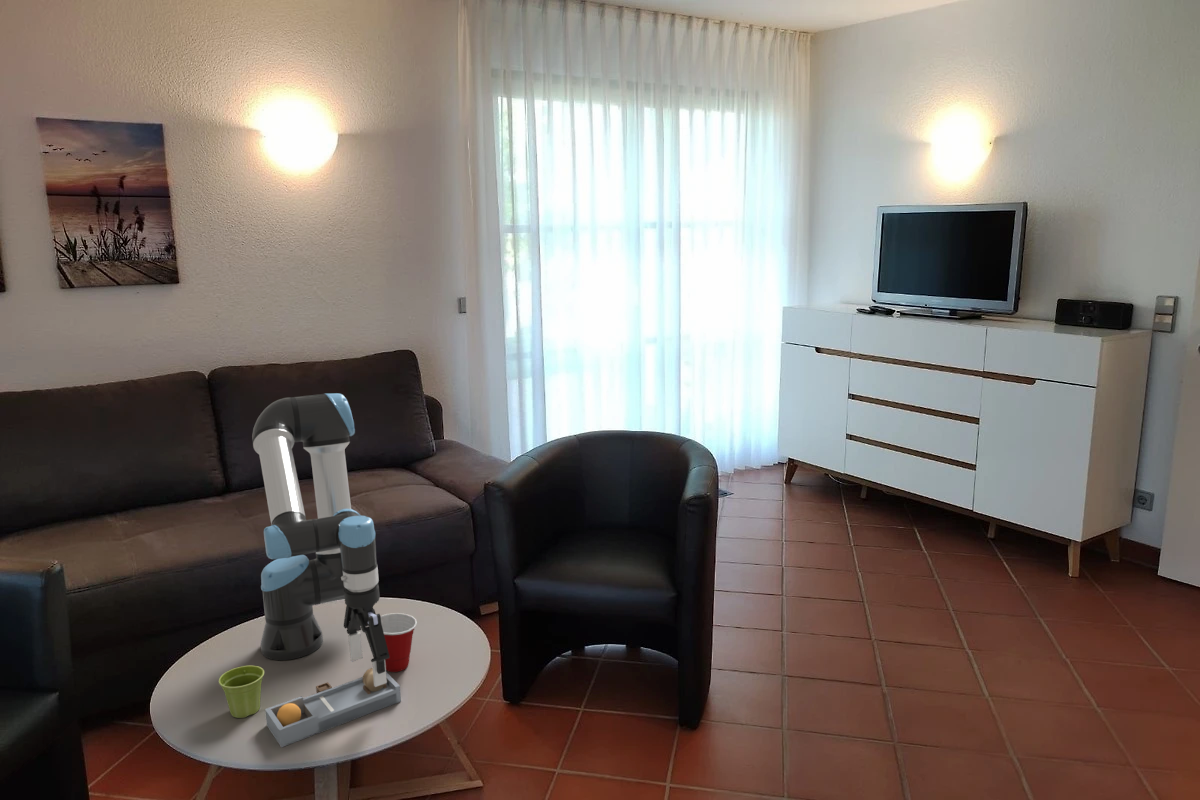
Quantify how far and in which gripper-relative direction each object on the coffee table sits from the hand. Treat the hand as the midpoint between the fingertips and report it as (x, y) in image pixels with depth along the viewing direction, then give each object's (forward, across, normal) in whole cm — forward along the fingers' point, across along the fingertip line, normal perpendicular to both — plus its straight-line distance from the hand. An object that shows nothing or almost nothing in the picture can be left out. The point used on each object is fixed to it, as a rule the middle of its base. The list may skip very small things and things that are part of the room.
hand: (368, 671), depth 190 cm
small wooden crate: (+7, -8, -8) cm, 13 cm away
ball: (+4, -1, -18) cm, 19 cm away
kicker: (+5, 0, +1) cm, 5 cm away
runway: (+7, 0, -8) cm, 11 cm away
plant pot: (+7, -14, -24) cm, 28 cm away
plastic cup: (+7, -10, +11) cm, 17 cm away
